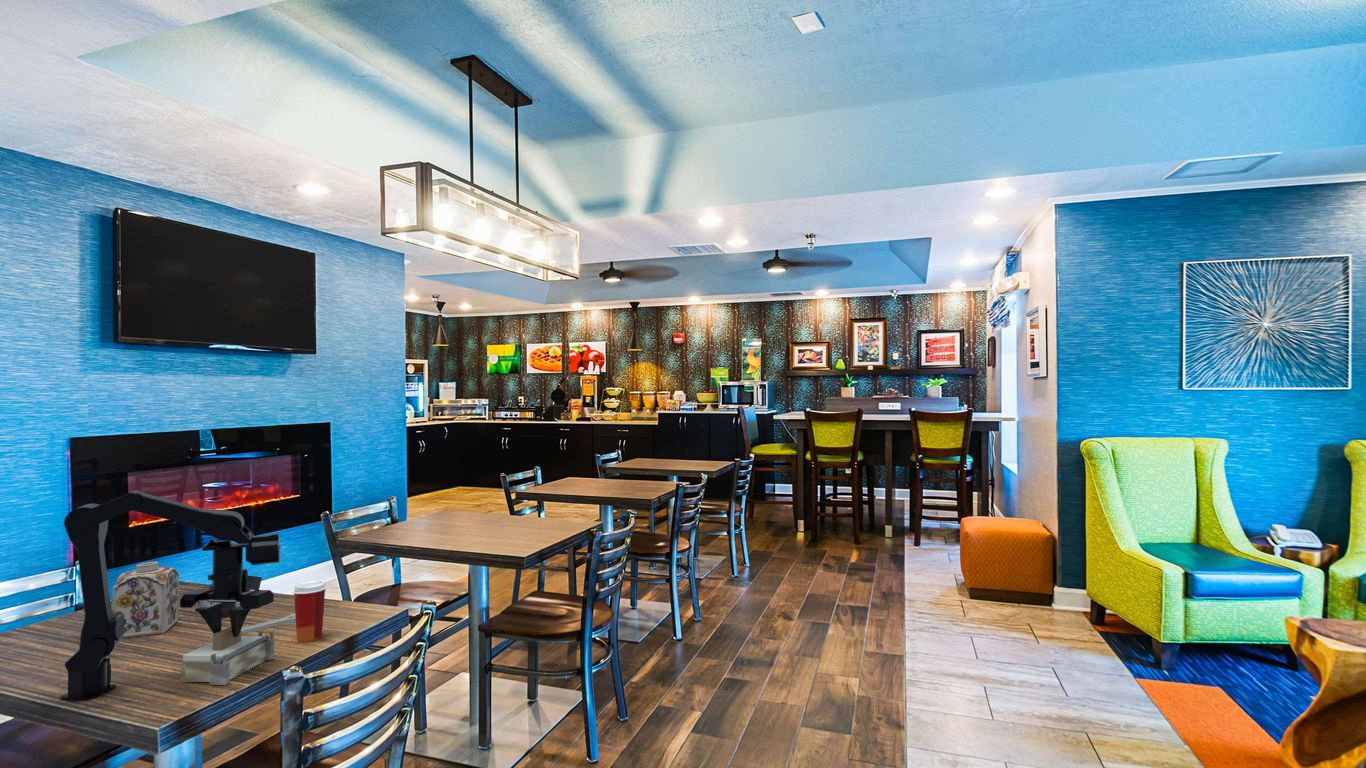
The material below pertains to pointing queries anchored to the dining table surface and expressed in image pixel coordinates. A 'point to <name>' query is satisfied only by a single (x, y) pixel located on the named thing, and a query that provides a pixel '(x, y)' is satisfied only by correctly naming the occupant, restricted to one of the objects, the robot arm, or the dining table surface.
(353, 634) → the dining table surface
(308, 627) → the paper cup
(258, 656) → the cabinet
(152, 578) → the decorative jar
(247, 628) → the adjustable wrench
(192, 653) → the cabinet door
